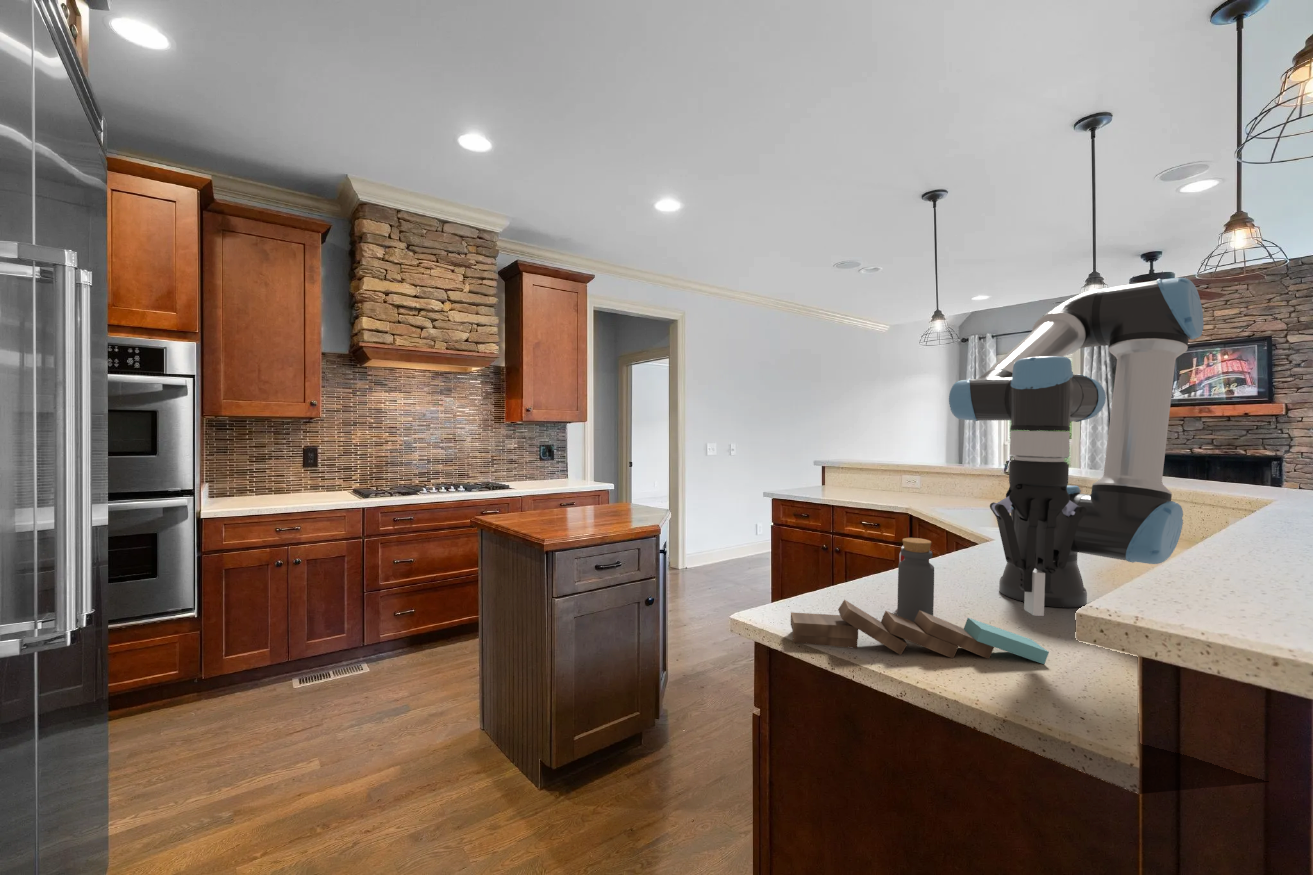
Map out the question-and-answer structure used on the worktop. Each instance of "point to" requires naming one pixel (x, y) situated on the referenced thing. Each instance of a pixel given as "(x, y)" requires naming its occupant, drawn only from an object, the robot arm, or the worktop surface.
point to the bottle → (915, 579)
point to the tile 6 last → (825, 641)
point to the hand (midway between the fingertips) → (1033, 612)
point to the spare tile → (1006, 640)
